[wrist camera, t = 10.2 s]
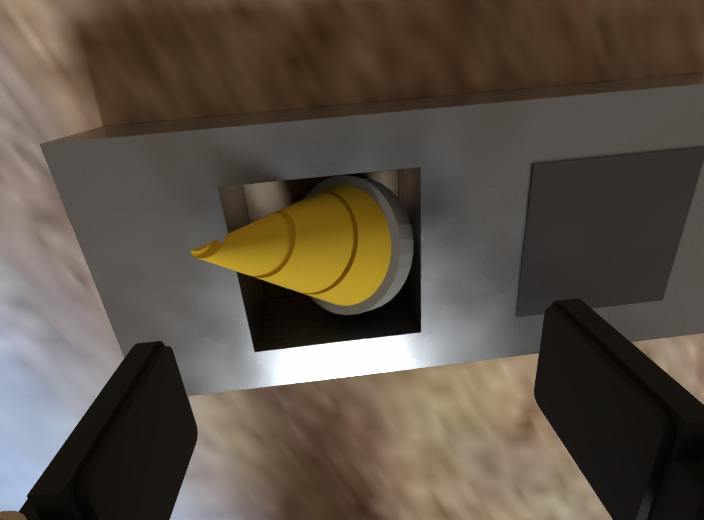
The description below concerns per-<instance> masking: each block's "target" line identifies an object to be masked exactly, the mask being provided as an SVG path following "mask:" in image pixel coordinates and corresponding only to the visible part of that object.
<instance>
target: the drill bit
mask: <svg viewBox="0 0 704 520" xmlns="http://www.w3.org/2000/svg"><path fill="white" fill-rule="evenodd" d="M191 255H192V256H193V257H195V258H198V259H201V260H204V261H207V262H210V263H213V264H216V265H219V266H222V267H225V268H228V269H231V270H234V271H237V272H240V273H243V274H246V275H249V276H252V277H255V278H258V279H261V280H264V281H267V282H270V283H273V284H276V285H279V286H282V287H285V288H288V289H291V290H294V291H297V292H300V293H303V294H306V295H309V296H310V297H311V298H312V299H313V300H314V301H315V302H316V303H317V304H318V305H320V306H321V307H323V308H324V309H325V310H328V311H330V312H333V313H335V314H342V315H352V314H359V313H362V312H366V311H369V310H372V309H375V308H378V307H381V306H382V305H384V304H385V303H387V302H388V301H390V300H391V299H392V298H393V297H394V296H395V295H396V294H397V293H398V292H399V291H400V289H401V287H402V286H403V284H404V283H405V281H406V279H407V276H408V273H409V271H410V268H411V263H412V258H413V234H412V228H411V224H410V221H409V218H408V215H407V213H406V210H405V209H404V207H403V205H402V204H401V202H400V200H399V199H398V198H397V197H396V196H395V195H394V194H393V192H392V191H391V190H389V189H388V188H387V187H385V186H384V185H382V184H381V183H378V182H376V181H374V180H371V179H366V178H360V177H354V176H347V175H342V176H334V177H331V178H328V179H326V180H323V181H322V182H320V183H319V184H317V185H316V186H315V187H314V188H313V189H312V190H311V191H310V192H309V193H308V194H307V195H306V196H305V198H304V199H303V200H301V201H299V202H297V203H294V204H292V205H290V206H288V207H286V208H283V209H281V210H279V211H277V212H275V213H273V214H270V215H268V216H266V217H264V218H262V219H259V220H257V221H255V222H253V223H251V224H248V225H246V226H244V227H242V228H240V229H238V230H235V231H233V232H231V233H229V234H227V235H225V239H224V241H223V242H219V241H217V240H214V241H211V242H209V243H207V244H205V245H203V246H200V247H198V248H196V249H194V250H192V251H191Z"/></svg>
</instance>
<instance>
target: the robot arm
mask: <svg viewBox="0 0 704 520" xmlns="http://www.w3.org/2000/svg"><path fill="white" fill-rule="evenodd" d="M534 395H535V399H536V402H537V404H538V406H539V408H540V409H541V411H542V412H543V414H544V415H545V417H546V418H547V420H548V421H549V423H550V424H551V426H552V427H553V429H554V430H555V432H556V433H557V435H558V437H559V438H560V440H561V441H562V443H563V444H564V446H565V447H566V449H567V450H568V452H569V453H570V455H571V456H572V458H573V459H574V461H575V462H576V464H577V465H578V467H579V469H580V470H581V472H582V473H583V475H584V476H585V478H586V479H587V481H588V482H589V484H590V485H591V487H592V488H593V490H594V491H595V493H596V494H597V496H598V497H599V499H600V501H601V502H602V504H603V505H604V507H605V508H606V510H607V511H608V513H609V514H610V516H611V517H612V519H613V520H704V405H703V404H702V403H701V402H700V401H699V400H697V399H696V398H695V397H694V396H693V395H692V394H690V393H689V392H688V391H687V390H686V389H685V388H683V387H682V386H681V385H680V384H679V383H678V382H676V381H675V380H674V379H673V378H672V377H671V376H669V375H668V374H667V373H666V372H665V371H664V370H662V369H661V368H660V367H659V366H658V365H657V364H655V363H654V362H653V361H652V360H651V359H650V358H648V357H647V356H646V355H645V354H644V353H643V352H642V351H640V350H639V349H638V348H637V347H636V346H635V345H633V344H632V343H631V342H630V341H629V340H628V339H626V338H625V337H624V336H623V335H622V334H621V333H619V332H618V331H617V330H616V329H615V328H614V327H612V326H611V325H610V324H609V323H608V322H607V321H605V320H604V319H603V318H602V317H601V316H600V315H598V314H597V313H596V312H595V311H594V310H593V309H591V308H590V307H589V306H588V305H587V304H586V303H584V302H583V301H582V300H580V299H566V300H556V301H554V302H553V303H552V304H551V307H548V308H546V310H545V313H544V321H543V328H542V335H541V343H540V350H539V358H538V365H537V372H536V380H535V387H534ZM197 434H198V432H197V425H196V422H195V419H194V416H193V412H192V409H191V406H190V403H189V400H188V397H187V393H186V390H185V387H184V384H183V381H182V378H181V374H180V371H179V368H178V365H177V362H176V359H175V355H174V352H173V350H172V348H171V347H170V346H165V344H164V343H163V342H162V341H154V342H144V343H137V344H135V345H134V346H133V347H132V348H131V350H130V351H129V353H128V354H127V355H126V357H125V358H124V360H123V361H122V362H121V364H120V365H119V367H118V368H117V370H116V371H115V372H114V374H113V375H112V377H111V378H110V379H109V381H108V382H107V384H106V385H105V386H104V388H103V389H102V391H101V392H100V393H99V395H98V396H97V398H96V399H95V401H94V402H93V403H92V405H91V406H90V408H89V409H88V410H87V412H86V413H85V415H84V416H83V417H82V419H81V420H80V422H79V423H78V425H77V426H76V427H75V429H74V430H73V432H72V433H71V434H70V436H69V437H68V439H67V440H66V441H65V443H64V444H63V446H62V447H61V448H60V450H59V451H58V453H57V454H56V456H55V457H54V458H53V460H52V461H51V463H50V464H49V465H48V467H47V468H46V470H45V471H44V472H43V474H42V475H41V477H40V478H39V480H38V481H37V482H36V484H35V485H34V487H33V488H32V489H31V491H30V492H29V494H28V495H27V498H28V499H27V501H26V502H25V504H24V505H23V506H22V508H21V509H20V511H19V512H17V511H2V512H0V520H169V519H170V517H171V514H172V511H173V508H174V505H175V502H176V499H177V496H178V494H179V491H180V488H181V485H182V482H183V479H184V476H185V473H186V471H187V468H188V465H189V462H190V459H191V456H192V453H193V451H194V448H195V445H196V441H197Z"/></svg>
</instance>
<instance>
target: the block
mask: <svg viewBox="0 0 704 520" xmlns="http://www.w3.org/2000/svg"><path fill="white" fill-rule="evenodd" d="M40 146H41V149H42V151H43V154H44V156H45V159H46V161H47V164H48V166H49V169H50V172H51V174H52V177H53V179H54V182H55V184H56V187H57V189H58V192H59V194H60V197H61V199H62V202H63V204H64V207H65V209H66V212H67V214H68V217H69V219H70V222H71V224H72V227H73V229H74V232H75V235H76V237H77V240H78V242H79V245H80V247H81V250H82V252H83V255H84V257H85V260H86V262H87V265H88V267H89V270H90V272H91V275H92V277H93V280H94V282H95V285H96V287H97V290H98V292H99V295H100V297H101V300H102V303H103V305H104V308H105V310H106V313H107V315H108V318H109V320H110V323H111V325H112V328H113V330H114V333H115V335H116V338H117V340H118V343H119V345H120V348H121V350H122V353H123V355H124V358H125V357H126V355H127V354H128V353H129V351H130V350H131V348H132V347H133V346H134V345H135V344H137V343H144V342H154V341H162V342H163V343H164V344H165V346H170V347H171V348H172V350H173V352H174V355H175V359H176V362H177V365H178V368H179V371H180V374H181V378H182V381H183V384H184V387H185V390H186V393H187V396H194V395H203V394H211V393H219V392H227V391H235V390H243V389H251V388H260V387H268V386H276V385H284V384H292V383H300V382H309V381H317V380H325V379H333V378H341V377H349V376H357V375H366V374H374V373H382V372H390V371H398V370H406V369H414V368H423V367H431V366H439V365H447V364H455V363H463V362H472V361H480V360H488V359H496V358H504V357H512V356H520V355H529V354H537V353H539V350H540V343H541V335H542V328H543V321H544V313H545V310H546V308H548V307H551V304H552V303H553V302H554V301H556V300H566V299H580V300H582V301H583V302H584V303H586V304H587V305H588V306H589V307H590V308H591V309H593V310H594V311H595V312H596V313H597V314H598V315H600V316H601V317H602V318H603V319H604V320H605V321H607V322H608V323H609V324H610V325H611V326H612V327H614V328H615V329H616V330H617V331H618V332H619V333H621V334H622V335H623V336H624V337H625V338H626V339H628V340H629V341H630V342H635V341H643V340H651V339H659V338H667V337H675V336H683V335H692V334H700V333H704V73H695V74H683V75H672V76H661V77H650V78H639V79H628V80H616V81H605V82H594V83H583V84H572V85H561V86H549V87H538V88H527V89H516V90H505V91H494V92H482V93H471V94H460V95H449V96H438V97H427V98H415V99H404V100H393V101H382V102H371V103H360V104H348V105H337V106H326V107H315V108H304V109H293V110H281V111H270V112H259V113H248V114H237V115H226V116H214V117H203V118H192V119H181V120H170V121H159V122H147V123H136V124H125V125H114V126H103V127H99V128H96V129H92V130H89V131H85V132H81V133H78V134H74V135H71V136H67V137H64V138H60V139H57V140H53V141H49V142H46V143H42V144H40ZM394 169H398V197H399V200H400V202H401V204H402V205H403V207H404V209H405V210H406V213H407V215H408V218H409V221H410V224H411V228H412V234H413V258H412V263H411V268H410V271H409V273H408V276H407V279H406V281H405V283H404V284H403V286H402V287H401V289H400V291H399V292H398V293H397V294H396V295H395V296H394V297H393V298H392V299H391V300H390V301H388V302H387V303H385V304H384V305H382V306H381V307H378V308H375V309H372V310H369V311H366V312H362V313H359V314H352V315H342V314H335V313H333V312H330V311H328V310H325V309H324V308H323V307H321V306H320V305H318V304H317V303H316V302H315V301H314V300H313V299H312V298H311V297H310V296H309V295H297V296H288V297H279V298H270V299H265V297H264V291H263V286H262V281H261V279H258V278H255V277H252V276H249V275H246V274H243V273H240V272H237V271H234V270H231V269H228V268H225V267H222V266H219V265H216V264H213V263H210V262H207V261H204V260H201V259H198V258H195V257H193V256H192V255H191V251H192V250H194V249H196V248H198V247H200V246H203V245H205V244H207V243H209V242H211V241H214V240H217V241H219V242H223V241H224V239H225V235H227V234H229V233H231V232H233V231H235V230H238V229H240V228H242V227H244V226H246V225H248V224H250V220H249V215H248V210H247V205H246V199H245V194H244V189H243V184H252V183H262V182H272V181H282V180H292V179H303V178H313V177H323V176H333V175H343V174H354V173H364V172H374V171H384V170H394Z"/></svg>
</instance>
